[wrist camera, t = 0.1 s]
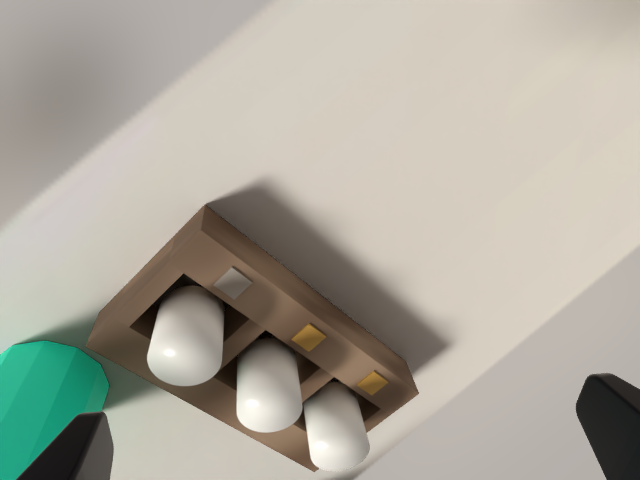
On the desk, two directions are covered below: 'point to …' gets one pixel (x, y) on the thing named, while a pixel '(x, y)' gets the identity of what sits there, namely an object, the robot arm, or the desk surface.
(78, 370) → the candle
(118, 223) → the desk surface
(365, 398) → the button board
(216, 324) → the button near
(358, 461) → the button far
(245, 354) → the button middle
